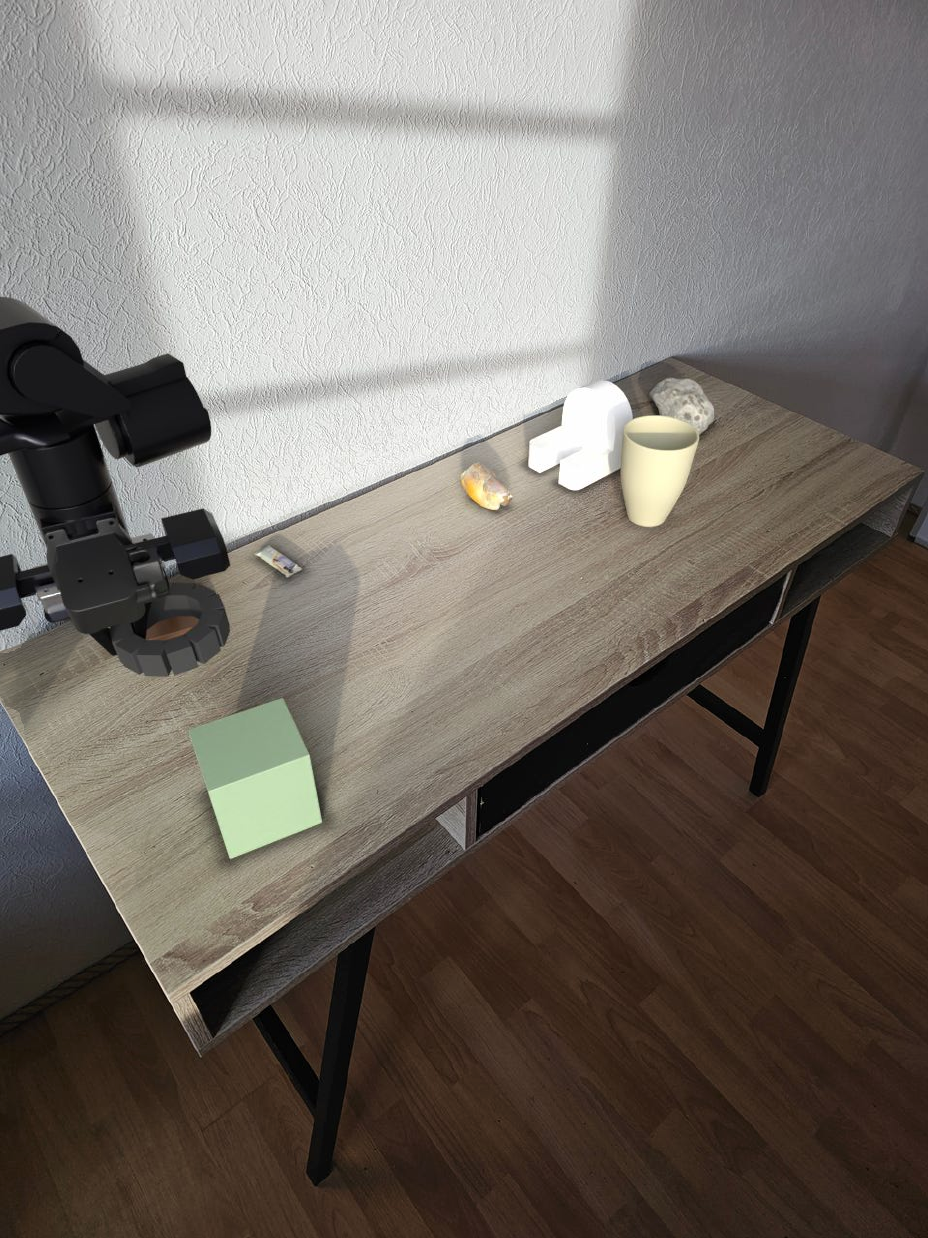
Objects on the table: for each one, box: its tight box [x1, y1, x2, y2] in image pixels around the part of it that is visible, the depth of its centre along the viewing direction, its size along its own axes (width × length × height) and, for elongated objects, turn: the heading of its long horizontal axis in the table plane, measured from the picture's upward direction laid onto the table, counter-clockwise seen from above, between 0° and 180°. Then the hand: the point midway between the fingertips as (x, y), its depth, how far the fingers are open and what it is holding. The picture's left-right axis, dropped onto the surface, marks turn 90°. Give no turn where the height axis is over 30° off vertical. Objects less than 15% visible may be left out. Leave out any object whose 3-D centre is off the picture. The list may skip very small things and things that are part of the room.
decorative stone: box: [649, 377, 715, 435], centre depth 125 cm, size 12×11×5 cm
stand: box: [146, 581, 199, 640], centre depth 88 cm, size 8×8×7 cm
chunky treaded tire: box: [108, 582, 231, 678], centre depth 69 cm, size 9×9×2 cm
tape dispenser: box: [527, 379, 634, 491], centre depth 114 cm, size 10×18×11 cm, turn 131°
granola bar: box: [254, 545, 303, 579], centre depth 97 cm, size 7×2×1 cm, turn 46°
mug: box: [620, 414, 700, 528], centre depth 103 cm, size 11×10×12 cm
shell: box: [460, 462, 514, 511], centre depth 107 cm, size 8×4×5 cm, turn 49°
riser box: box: [187, 697, 323, 860], centre depth 68 cm, size 8×7×9 cm
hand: (128, 648), depth 68 cm, fingers closed on chunky treaded tire, 2 cm apart
